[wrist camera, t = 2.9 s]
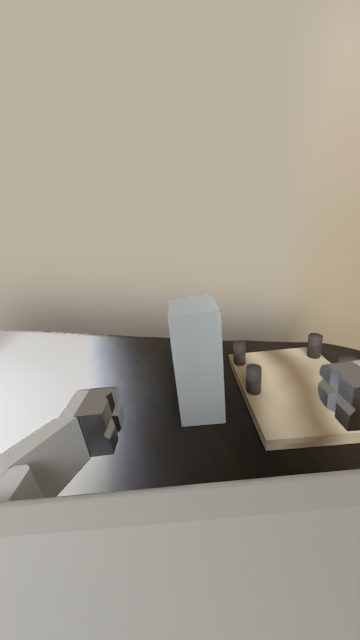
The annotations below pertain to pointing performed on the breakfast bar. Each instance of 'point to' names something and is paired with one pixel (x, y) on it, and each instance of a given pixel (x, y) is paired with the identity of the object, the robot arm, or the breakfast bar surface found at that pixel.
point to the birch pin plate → (288, 396)
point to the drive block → (197, 359)
